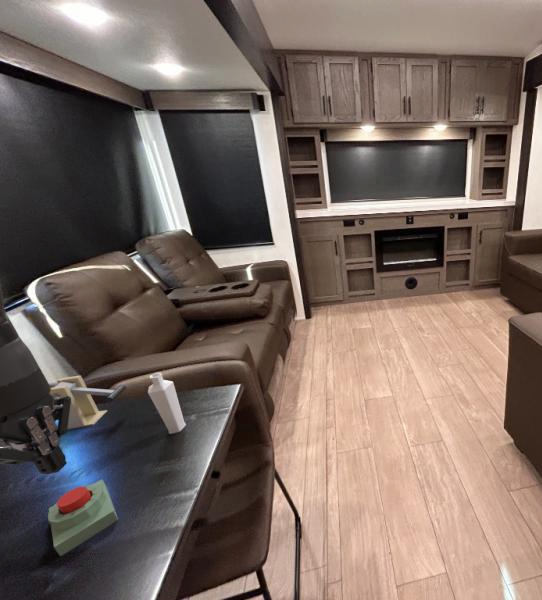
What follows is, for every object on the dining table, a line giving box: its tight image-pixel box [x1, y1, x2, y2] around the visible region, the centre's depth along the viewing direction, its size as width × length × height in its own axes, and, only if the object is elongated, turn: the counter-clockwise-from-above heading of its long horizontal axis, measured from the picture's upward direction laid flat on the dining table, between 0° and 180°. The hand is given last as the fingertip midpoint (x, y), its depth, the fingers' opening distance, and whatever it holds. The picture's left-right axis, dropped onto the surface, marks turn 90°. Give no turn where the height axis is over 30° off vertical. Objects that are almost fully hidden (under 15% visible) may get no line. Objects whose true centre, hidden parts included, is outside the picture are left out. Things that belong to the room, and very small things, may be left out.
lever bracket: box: [49, 375, 108, 430], centre depth 75 cm, size 8×6×12 cm
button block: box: [47, 479, 119, 557], centre depth 53 cm, size 10×7×4 cm
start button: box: [56, 485, 91, 514], centre depth 52 cm, size 4×4×2 cm
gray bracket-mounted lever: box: [54, 382, 127, 403], centre depth 75 cm, size 12×5×2 cm, turn 100°
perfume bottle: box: [147, 372, 187, 435], centre depth 69 cm, size 5×4×15 cm
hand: (56, 469), depth 50 cm, fingers closed
